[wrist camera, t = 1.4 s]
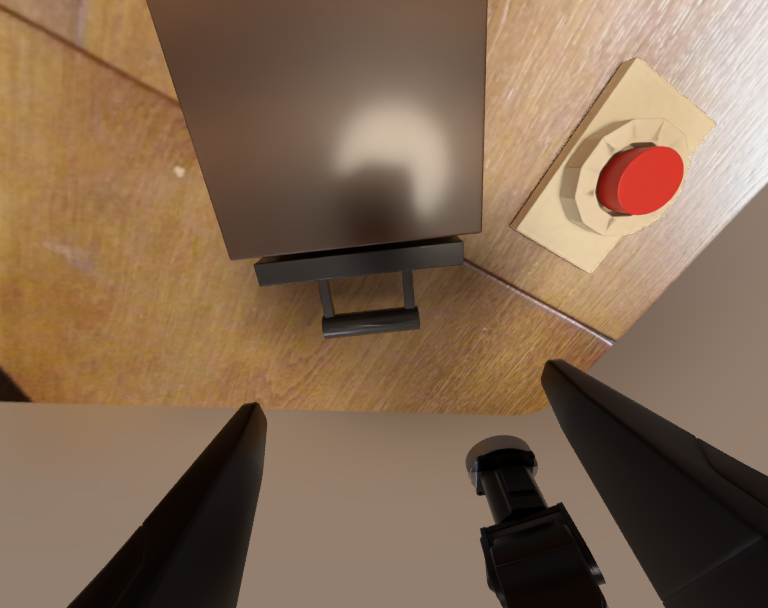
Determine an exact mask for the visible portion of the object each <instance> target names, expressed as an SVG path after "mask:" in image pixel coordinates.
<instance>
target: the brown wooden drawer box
mask: <svg viewBox="0 0 768 608" xmlns="http://www.w3.org/2000/svg"><path fill="white" fill-rule="evenodd" d="M146 1H147V4H148V7H149V11H150V14H151V17H152V20H153V23H154V26H155V29H156V32H157V35H158V38H159V41H160V44H161V48H162V51H163V54H164V57H165V60H166V63H167V66H168V69H169V72H170V75H171V78H172V81H173V85H174V88H175V91H176V94H177V97H178V100H179V103H180V106H181V109H182V112H183V115H184V118H185V122H186V125H187V128H188V131H189V134H190V137H191V140H192V143H193V146H194V149H195V152H196V155H197V159H198V162H199V165H200V168H201V171H202V174H203V177H204V180H205V183H206V186H207V189H208V192H209V195H210V199H211V202H212V205H213V208H214V211H215V214H216V217H217V220H218V223H219V226H220V229H221V232H222V236H223V239H224V242H225V245H226V248H227V251H228V254H229V257H230V260H241V259H250V258H259V257H268V256H277V255H286V254H295V253H304V252H313V251H322V250H331V249H340V248H349V247H358V246H367V245H376V244H385V243H394V242H403V241H412V240H421V239H430V238H439V237H448V236H457V235H466V234H475V233H481V231H482V201H483V162H484V123H485V84H486V46H487V7H488V0H146Z"/></svg>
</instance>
